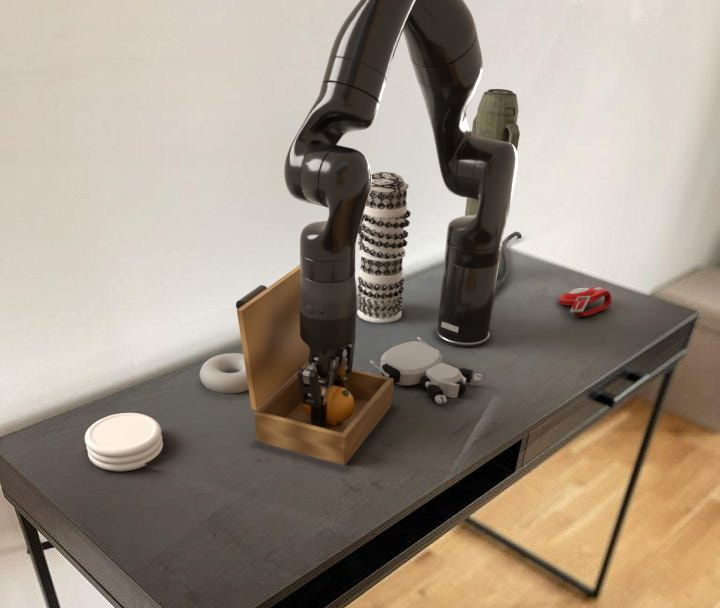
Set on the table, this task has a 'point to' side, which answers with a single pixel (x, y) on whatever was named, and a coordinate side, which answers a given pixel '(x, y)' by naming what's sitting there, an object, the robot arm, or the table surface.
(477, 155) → the robot arm
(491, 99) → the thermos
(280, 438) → the wooden box
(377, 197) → the decorative candle
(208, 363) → the donut
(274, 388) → the lid
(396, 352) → the robot toy
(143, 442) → the coaster
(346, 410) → the mango
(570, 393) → the table surface
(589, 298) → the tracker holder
